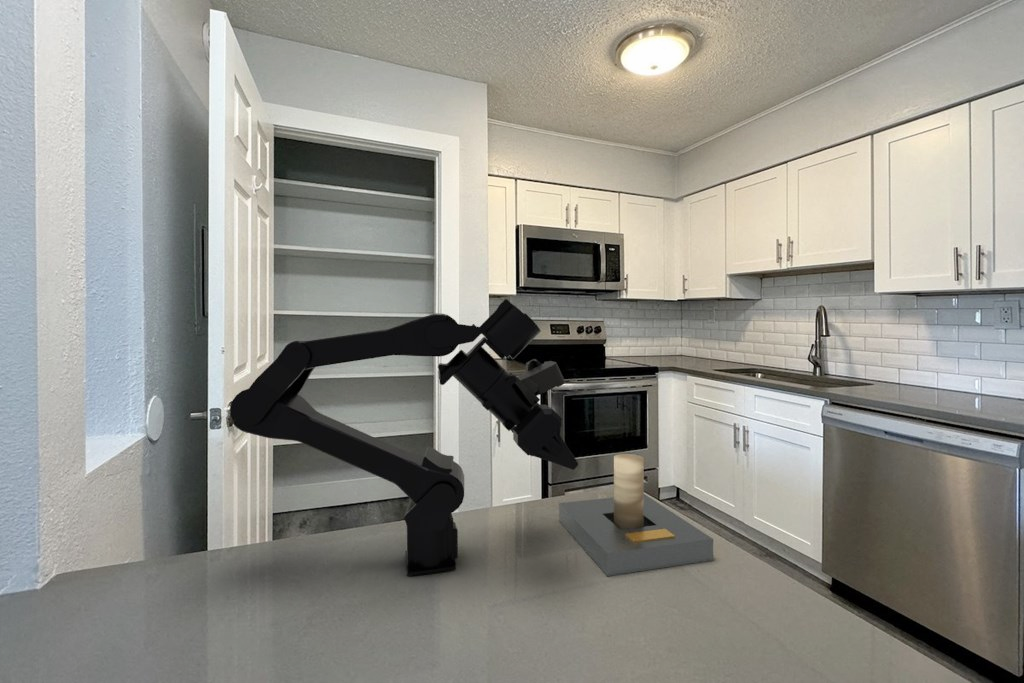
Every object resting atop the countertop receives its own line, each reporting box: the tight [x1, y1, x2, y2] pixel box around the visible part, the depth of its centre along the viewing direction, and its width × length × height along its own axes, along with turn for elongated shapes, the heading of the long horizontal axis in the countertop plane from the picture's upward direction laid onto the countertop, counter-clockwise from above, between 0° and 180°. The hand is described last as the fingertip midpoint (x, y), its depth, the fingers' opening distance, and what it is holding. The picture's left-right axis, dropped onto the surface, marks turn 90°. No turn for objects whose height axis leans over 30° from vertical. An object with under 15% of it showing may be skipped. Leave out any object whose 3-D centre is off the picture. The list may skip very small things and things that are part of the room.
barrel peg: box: [613, 453, 645, 530], centre depth 70 cm, size 4×4×12 cm
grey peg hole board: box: [558, 493, 714, 577], centre depth 70 cm, size 16×18×3 cm
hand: (566, 457), depth 66 cm, fingers open, 9 cm apart
